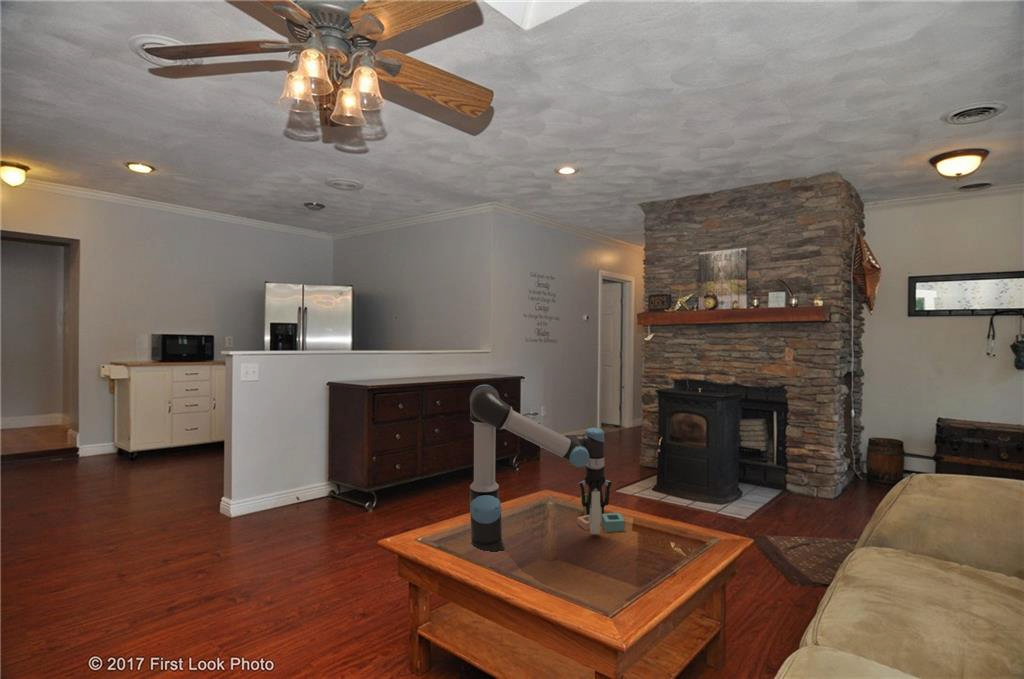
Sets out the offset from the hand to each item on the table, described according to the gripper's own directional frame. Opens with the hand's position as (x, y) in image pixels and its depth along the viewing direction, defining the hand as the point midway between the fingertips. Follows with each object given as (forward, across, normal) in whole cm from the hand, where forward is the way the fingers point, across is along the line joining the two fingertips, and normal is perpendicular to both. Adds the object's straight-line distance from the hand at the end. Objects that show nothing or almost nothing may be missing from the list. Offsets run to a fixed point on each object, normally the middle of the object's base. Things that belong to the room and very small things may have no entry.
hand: (595, 521), depth 229 cm
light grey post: (+5, 0, 0) cm, 5 cm away
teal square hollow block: (+6, +9, +7) cm, 13 cm away
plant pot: (+6, +2, +19) cm, 20 cm away
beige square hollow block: (+6, -1, +10) cm, 12 cm away
